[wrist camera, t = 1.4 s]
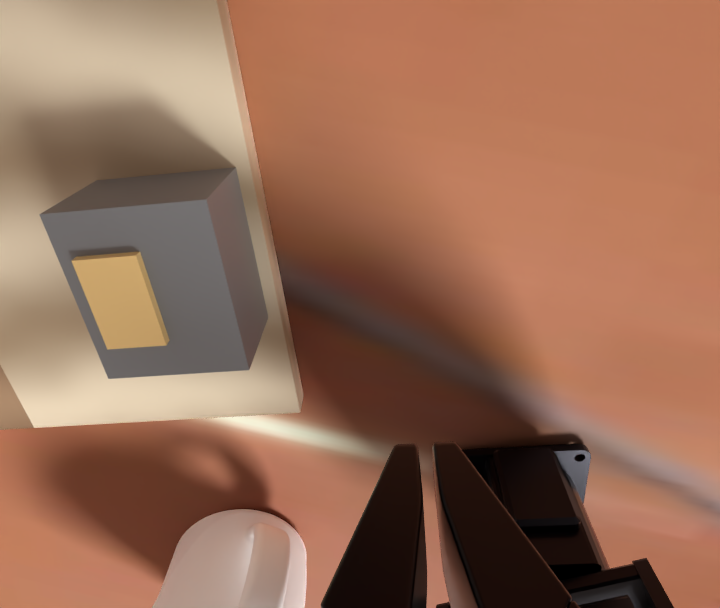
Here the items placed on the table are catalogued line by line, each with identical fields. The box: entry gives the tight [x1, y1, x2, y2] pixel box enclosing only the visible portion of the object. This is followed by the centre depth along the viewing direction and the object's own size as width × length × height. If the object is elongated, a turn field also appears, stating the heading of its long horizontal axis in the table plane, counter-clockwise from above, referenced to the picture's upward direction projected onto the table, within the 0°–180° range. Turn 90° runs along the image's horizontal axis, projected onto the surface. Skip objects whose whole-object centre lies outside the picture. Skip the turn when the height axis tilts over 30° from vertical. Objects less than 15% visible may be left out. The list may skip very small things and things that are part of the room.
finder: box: [39, 167, 268, 379], centre depth 18 cm, size 6×5×4 cm
